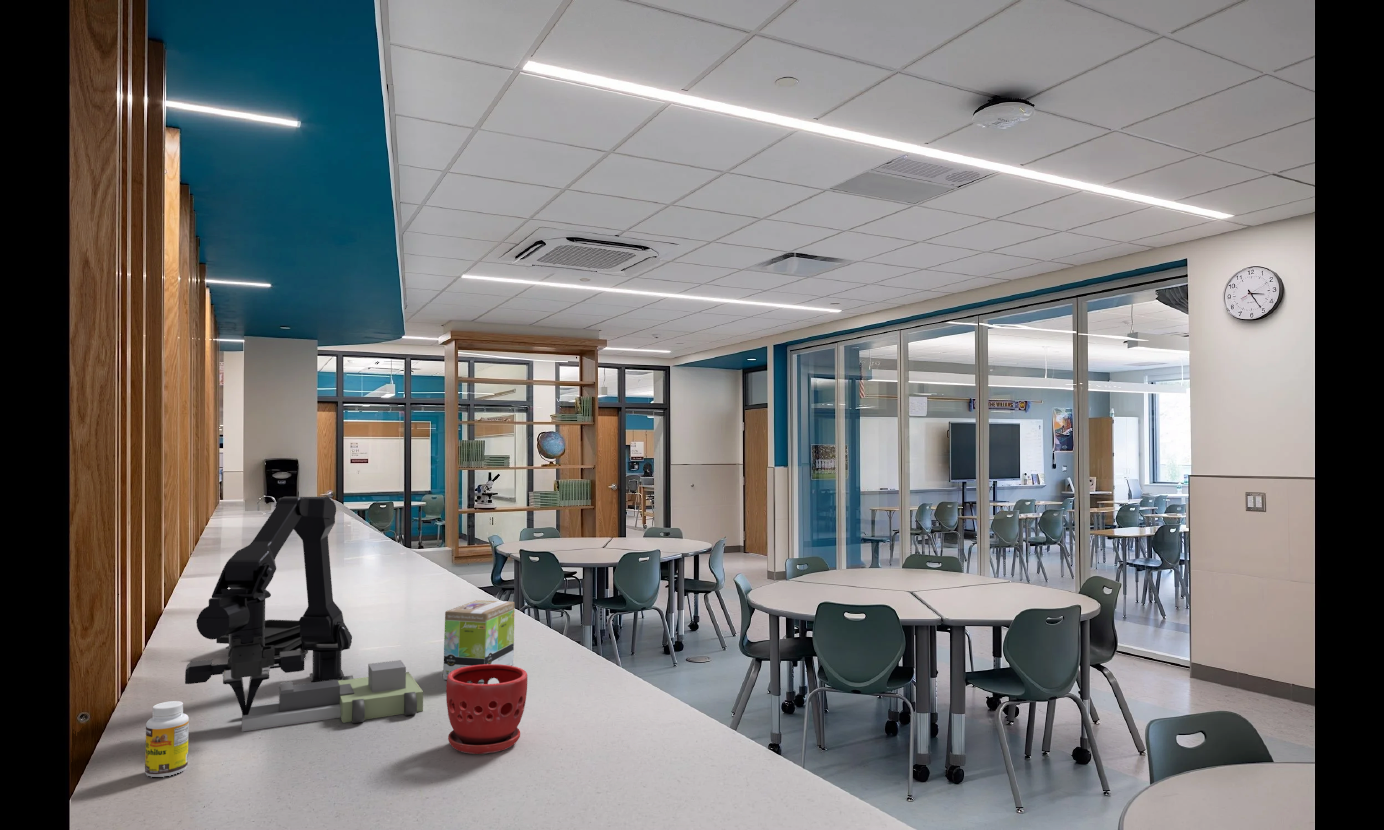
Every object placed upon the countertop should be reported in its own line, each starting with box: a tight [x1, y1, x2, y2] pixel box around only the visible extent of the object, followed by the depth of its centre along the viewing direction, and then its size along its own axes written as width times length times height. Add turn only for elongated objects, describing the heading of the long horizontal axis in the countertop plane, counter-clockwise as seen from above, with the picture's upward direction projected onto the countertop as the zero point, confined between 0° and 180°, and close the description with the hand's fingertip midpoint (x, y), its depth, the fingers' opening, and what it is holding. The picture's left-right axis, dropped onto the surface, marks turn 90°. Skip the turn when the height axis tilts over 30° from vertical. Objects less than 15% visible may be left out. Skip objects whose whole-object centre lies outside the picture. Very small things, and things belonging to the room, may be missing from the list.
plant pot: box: [445, 664, 528, 755], centre depth 139 cm, size 13×13×12 cm
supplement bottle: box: [144, 700, 190, 778], centre depth 128 cm, size 6×6×10 cm
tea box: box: [442, 599, 515, 683], centre depth 184 cm, size 15×10×15 cm
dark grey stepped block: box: [278, 679, 340, 712], centre depth 156 cm, size 6×10×6 cm, turn 118°
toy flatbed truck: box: [241, 659, 424, 732], centre depth 158 cm, size 22×30×8 cm
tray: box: [215, 619, 309, 659], centre depth 205 cm, size 30×23×5 cm
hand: (245, 714), depth 151 cm, fingers closed
